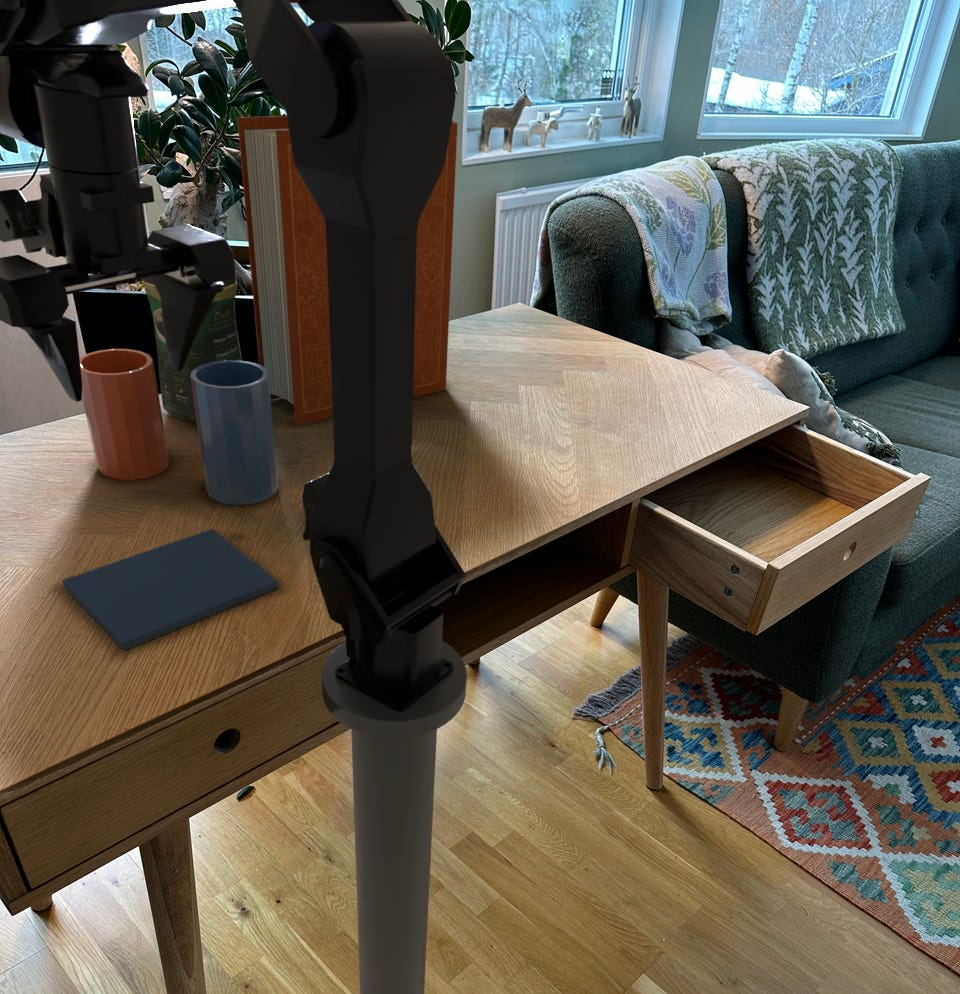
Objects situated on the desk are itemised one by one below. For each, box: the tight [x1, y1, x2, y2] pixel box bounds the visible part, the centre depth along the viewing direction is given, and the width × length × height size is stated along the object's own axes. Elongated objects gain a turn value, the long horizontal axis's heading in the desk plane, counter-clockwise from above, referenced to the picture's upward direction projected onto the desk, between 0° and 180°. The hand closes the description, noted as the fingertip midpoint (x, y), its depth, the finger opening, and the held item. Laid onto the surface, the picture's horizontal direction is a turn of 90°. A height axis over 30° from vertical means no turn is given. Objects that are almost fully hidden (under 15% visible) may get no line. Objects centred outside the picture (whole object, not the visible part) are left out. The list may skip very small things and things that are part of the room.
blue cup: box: [191, 360, 279, 506], centre depth 86 cm, size 7×7×12 cm
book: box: [236, 115, 459, 426], centre depth 102 cm, size 23×8×30 cm, turn 129°
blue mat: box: [61, 528, 279, 651], centre depth 75 cm, size 14×11×1 cm
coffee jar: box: [141, 275, 243, 424], centre depth 98 cm, size 10×8×19 cm
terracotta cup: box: [79, 348, 170, 481], centre depth 89 cm, size 7×7×11 cm
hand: (128, 383), depth 70 cm, fingers open, 9 cm apart
